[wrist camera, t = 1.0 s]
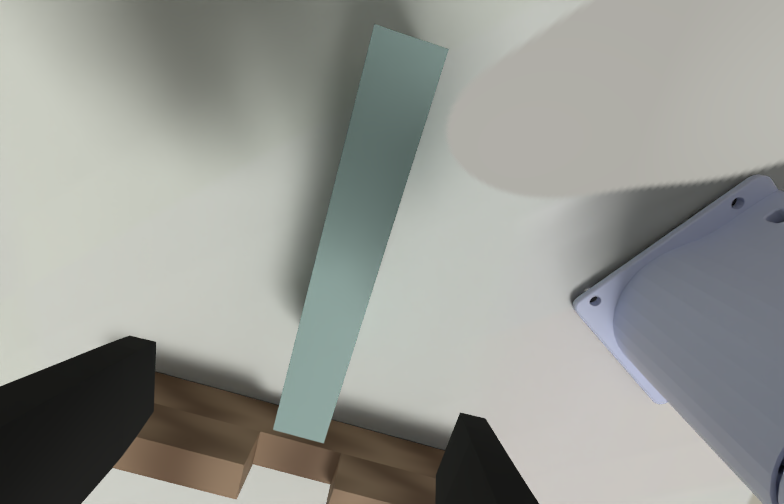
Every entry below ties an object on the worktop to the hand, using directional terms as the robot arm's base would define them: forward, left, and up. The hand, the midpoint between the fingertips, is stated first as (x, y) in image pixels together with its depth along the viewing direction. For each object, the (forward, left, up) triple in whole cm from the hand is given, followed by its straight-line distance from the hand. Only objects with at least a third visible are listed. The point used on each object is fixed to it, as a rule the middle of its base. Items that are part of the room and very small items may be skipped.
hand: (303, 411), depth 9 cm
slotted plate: (-1, -1, -10) cm, 10 cm away
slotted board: (+10, +5, -10) cm, 15 cm away
